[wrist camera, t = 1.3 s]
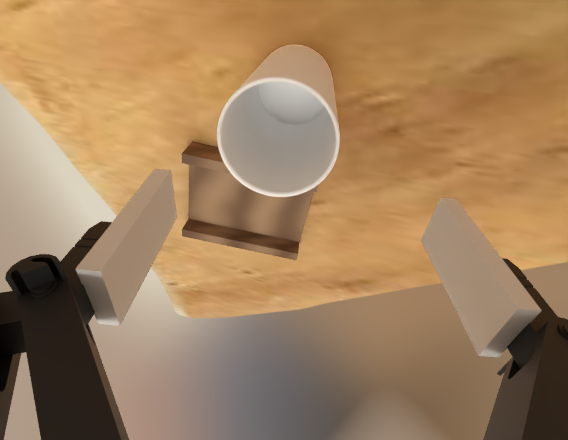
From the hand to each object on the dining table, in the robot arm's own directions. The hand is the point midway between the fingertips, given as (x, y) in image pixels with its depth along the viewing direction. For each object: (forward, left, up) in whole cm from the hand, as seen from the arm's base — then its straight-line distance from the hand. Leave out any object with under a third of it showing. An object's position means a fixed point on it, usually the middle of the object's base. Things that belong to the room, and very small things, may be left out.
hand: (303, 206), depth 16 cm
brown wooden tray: (+5, +15, -22) cm, 27 cm away
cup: (+2, 0, -23) cm, 23 cm away
